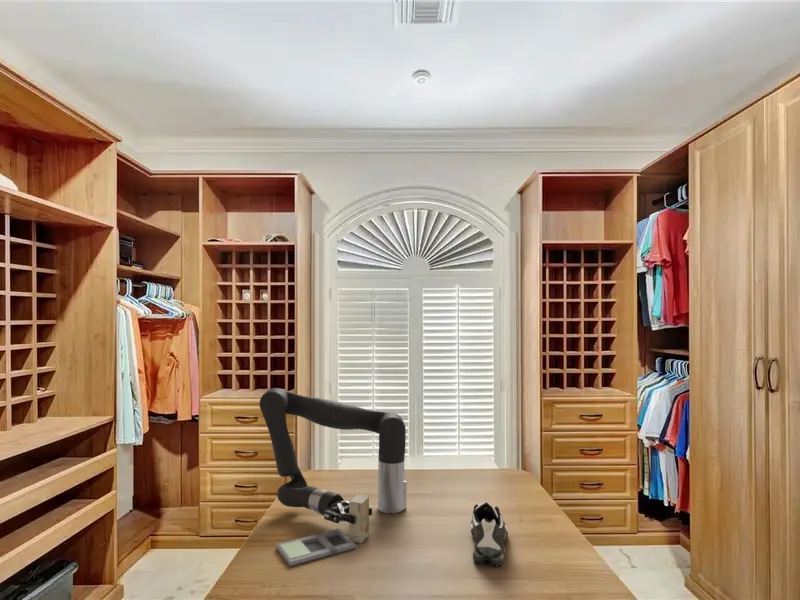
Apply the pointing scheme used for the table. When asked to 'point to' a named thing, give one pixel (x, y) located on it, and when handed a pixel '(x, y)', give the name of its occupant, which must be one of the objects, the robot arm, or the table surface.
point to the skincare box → (359, 518)
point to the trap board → (315, 547)
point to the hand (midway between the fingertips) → (363, 516)
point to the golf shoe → (488, 534)
